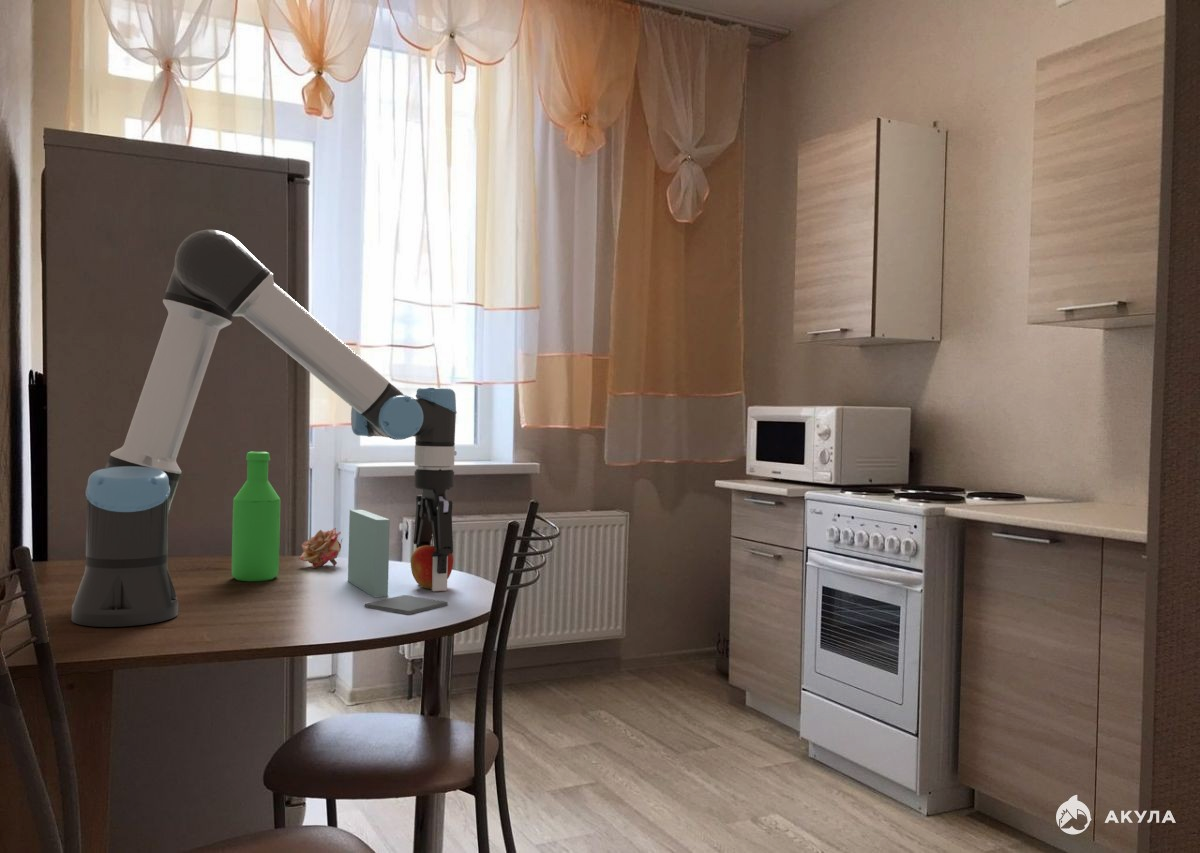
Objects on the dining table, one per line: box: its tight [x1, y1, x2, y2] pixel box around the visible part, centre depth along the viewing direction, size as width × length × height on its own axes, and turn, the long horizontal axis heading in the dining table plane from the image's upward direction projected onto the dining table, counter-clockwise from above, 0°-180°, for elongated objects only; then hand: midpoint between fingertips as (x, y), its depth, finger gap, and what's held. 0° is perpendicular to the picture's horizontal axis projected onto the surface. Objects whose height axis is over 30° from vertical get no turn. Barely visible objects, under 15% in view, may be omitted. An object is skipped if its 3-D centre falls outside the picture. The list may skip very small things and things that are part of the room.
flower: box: [299, 527, 344, 569], centre depth 207 cm, size 10×9×8 cm
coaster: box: [364, 594, 448, 615], centre depth 168 cm, size 10×10×1 cm
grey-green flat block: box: [347, 509, 391, 598], centre depth 184 cm, size 18×3×14 cm, turn 30°
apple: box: [410, 534, 454, 590], centre depth 186 cm, size 8×8×10 cm
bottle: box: [231, 450, 282, 582], centre depth 191 cm, size 9×9×25 cm
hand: (431, 586), depth 186 cm, fingers closed on apple, 8 cm apart
